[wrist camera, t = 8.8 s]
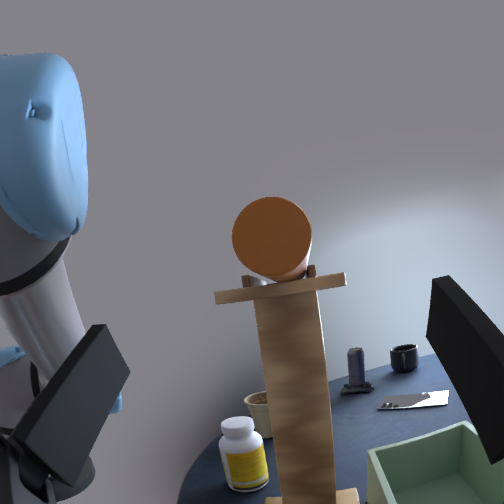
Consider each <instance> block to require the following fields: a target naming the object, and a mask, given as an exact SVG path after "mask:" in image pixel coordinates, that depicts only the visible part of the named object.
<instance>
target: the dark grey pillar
mask: <svg viewBox="0 0 504 504" xmlns="http://www.w3.org/2000/svg"><path fill="white" fill-rule="evenodd" d="M348 370H349V384H344V387H343V389H342V391H341V392H342V393H341V394H342V395H345V394H349V393H350V394H351V393H353V392H356V393H357V392H358V393H361V392H362V391H364V392H366V393H368V392H370V390H372V389H373V390H374V387H373V388H372V387H371V384H369V382H365V369H364V351H363V350H362V348H354V349H353V348H352V349H349V351H348ZM369 387H370V388H369Z"/></svg>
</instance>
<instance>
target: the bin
mask: <svg viewBox="0 0 504 504" xmlns="http://www.w3.org/2000/svg"><path fill="white" fill-rule="evenodd" d="M503 502H504V459H502V460H500V461H499V462H497V463H495V464H493V465H491V464H490V462H489V459H488V457H487V454H486V452H485V450H484V448H483V445H482V443H481V441H480V438H479V436H478V434H477V432H476V430H475V428H474V426H472V425H471V424H470V423H469V422H467V421H466V420H465V421H462V422H460V423H457V424H454V425H452V426H449V427H446V428H443V429H441V430H438V431H435V432H432V433H429V434H426V435H422V436H419V437H416V438H412V439H409V440H405V441H402V442H398V443H394V444H390V445H386V446H382V447H378V448H374V449H369V450H367V503H368V504H503Z"/></svg>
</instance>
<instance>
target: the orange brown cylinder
mask: <svg viewBox="0 0 504 504" xmlns="http://www.w3.org/2000/svg"><path fill="white" fill-rule="evenodd" d="M311 242H312V229H311V225H310V222H309V219H308V218H307V216H306V214H305V213H304V211H302V209H301V208H300V207H299V206H297V205H296V204H295V203H293V202H291V201H289V200H287V199H284V198H279V197H265V198H261V199H258V200H256V201H254V202H252V203H250V204H249V205H247V206H246V207H245V208H244V209H243V210H242V211H241V212H240V214H239V216H238V217H237V219H236V221H235V223H234V227H233V231H232V243H233V247H234V251H235V253H236V255H237V257H238V258H239V260H240V261H241V262H242V264H243V265H245V266H246V267H247V268H248V269H250V270H251V271H253V272H255V273H257V274H259V275H262V276H264V277H266V278H269V279H271V280H273V281H276V282H278V283H280V282H286V281H293V280H299V279H303V277H304V276H305V273H306V269H307V264H308V258H309V253H310V248H311Z"/></svg>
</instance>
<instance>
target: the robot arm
mask: <svg viewBox="0 0 504 504" xmlns="http://www.w3.org/2000/svg"><path fill="white" fill-rule="evenodd" d="M86 153H87V144H86V132H85V122H84V113H83V106H82V100H81V94H80V89H79V85H78V82H77V79H76V76H75V74H74V71H73V69H72V68H71V66H70V64H69V63H68V62H67V61H66V60H65V59H64V58H62V57H61V56H59V55H56V54H53V53H33V54H22V55H6V54H2V55H0V320H1V321H2V323H3V324H4V326H5V327H6V329H7V330H8V331H9V333H10V334H11V335H12V337H13V338H14V339H15V341H16V342H17V343H18V345H16V346H11V347H6V348H1V349H0V504H56V500H55V496H54V491H53V487H52V484H51V481H54V480H57V481H58V482H59V483H62V484H64V485H67V486H69V487H72V488H74V486H75V483H76V481H77V479H78V477H79V475H80V472H81V470H82V468H83V466H84V464H85V462H86V460H87V457H88V455H89V453H90V451H91V449H92V447H93V445H94V443H95V441H96V438H97V437H98V435H99V433H100V430H101V428H102V426H103V424H104V423H105V420H106V419H107V416H108V415H109V414H114V413H118V412H119V411H120V410H121V408H122V397H121V393H120V392H121V389H122V387H123V385H124V383H125V381H126V380H127V377H128V376H129V374H130V370H129V368H128V367H127V365H126V363H125V361H124V359H123V357H122V355H121V353H120V352H119V349H118V348H117V346H116V344H115V342H114V340H113V338H112V336H111V334H110V332H109V330H108V327H107V325H106V324H100V325H92V326H91V328H90V329H89V330H88V331H87V333H86V332H85V330H84V327H83V324H82V322H81V318H80V315H79V312H78V309H77V306H76V303H75V300H74V297H73V294H72V291H71V288H70V284H69V280H68V277H67V273H66V269H65V266H64V262H63V256H64V254H65V252H66V251H67V249H68V246H69V244H70V241H71V236H72V235H75V234H76V233H78V232H79V231H80V230H81V228H82V227H83V225H84V222H85V219H86V214H87V207H88V168H87V160H86ZM426 338H427V340H428V341H429V343H430V345H431V346H432V348H433V349H434V351H435V353H436V355H437V357H438V358H439V360H440V362H441V364H442V365H443V367H444V369H445V371H446V373H447V374H448V376H449V378H450V380H451V382H452V384H453V386H454V387H455V389H456V391H457V393H458V395H459V397H460V399H461V401H462V403H463V405H464V407H465V409H466V411H467V413H468V415H469V417H470V419H471V421H472V423H473V425H474V428H475V430H476V432H477V434H478V436H479V438H480V441H481V443H482V445H483V448H484V450H485V452H486V454H487V457H488V459H489V462H490V464H491V465H493V464H495V463H497V462H499V461H500V460H502V459H504V335H503V334H502V333H501V331H500V330H499V329H498V328H497V327H496V325H495V324H494V323H493V322H492V321H491V320H490V319H489V318H488V316H487V315H486V314H485V313H484V312H483V311H482V310H481V309H480V308H479V306H478V305H477V304H476V303H475V302H474V301H473V300H472V299H471V298H470V297H469V295H467V293H466V292H465V291H464V290H463V289H462V288H461V287H460V286H459V285H458V284H457V283H456V282H455V281H454V280H453V279H452V278H451V277H450V276H449V275H448V276H443V277H439V278H434V279H432V290H431V300H430V309H429V318H428V325H427V332H426ZM503 504H504V502H503Z"/></svg>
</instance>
